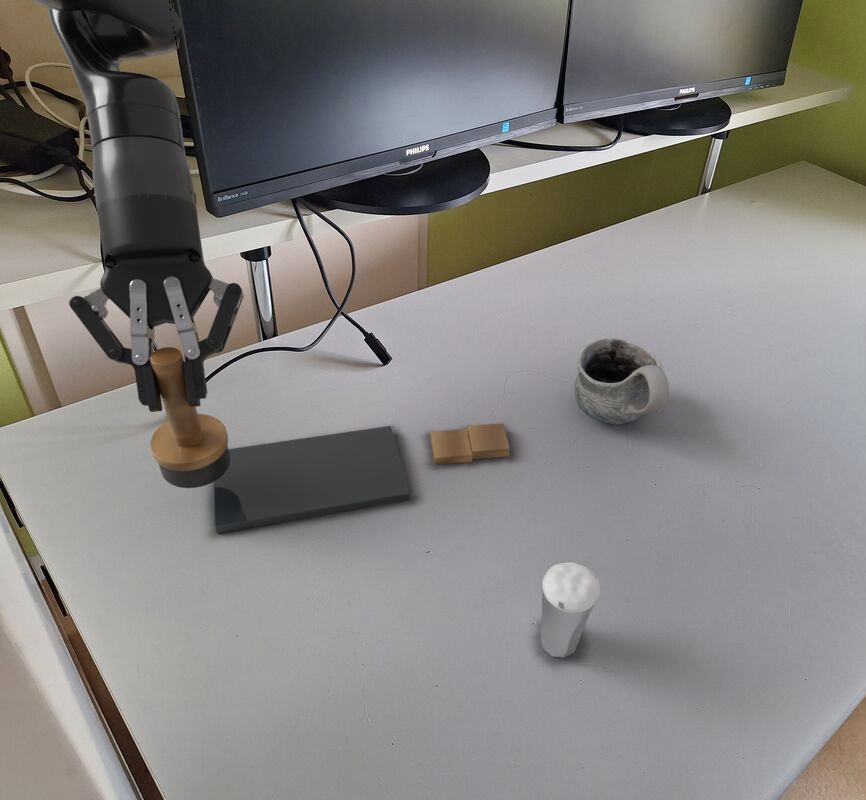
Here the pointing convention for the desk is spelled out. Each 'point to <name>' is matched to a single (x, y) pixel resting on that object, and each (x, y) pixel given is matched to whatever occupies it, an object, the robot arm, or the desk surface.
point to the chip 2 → (488, 441)
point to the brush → (185, 430)
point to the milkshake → (566, 606)
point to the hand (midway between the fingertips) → (175, 407)
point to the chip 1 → (451, 446)
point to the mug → (619, 381)
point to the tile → (308, 478)
